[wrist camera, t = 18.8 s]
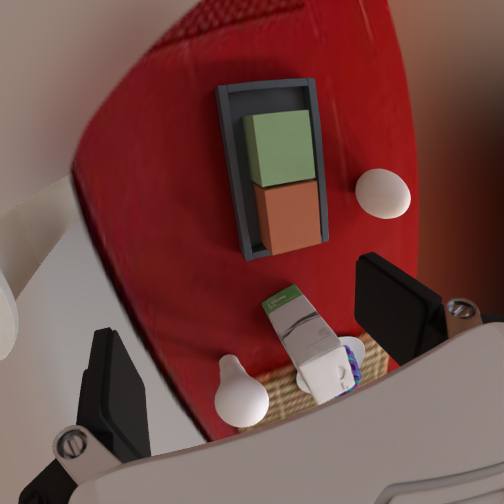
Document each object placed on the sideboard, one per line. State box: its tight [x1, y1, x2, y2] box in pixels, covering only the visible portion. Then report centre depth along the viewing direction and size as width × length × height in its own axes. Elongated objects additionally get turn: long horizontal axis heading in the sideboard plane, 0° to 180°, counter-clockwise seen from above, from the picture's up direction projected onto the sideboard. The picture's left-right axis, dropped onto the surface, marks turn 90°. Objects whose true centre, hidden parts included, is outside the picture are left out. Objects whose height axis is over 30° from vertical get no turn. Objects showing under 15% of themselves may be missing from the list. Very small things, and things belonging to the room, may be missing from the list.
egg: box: [355, 169, 411, 219], centre depth 32 cm, size 5×5×8 cm
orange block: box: [253, 179, 321, 255], centre depth 31 cm, size 5×6×4 cm
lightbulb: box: [215, 354, 269, 427], centre depth 35 cm, size 6×6×11 cm
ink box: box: [262, 284, 355, 405], centre depth 34 cm, size 9×5×12 cm, turn 23°
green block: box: [242, 110, 315, 187], centre depth 28 cm, size 5×6×4 cm
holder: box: [214, 78, 329, 261], centre depth 30 cm, size 10×18×2 cm, turn 8°
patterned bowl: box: [296, 337, 365, 398], centre depth 43 cm, size 12×12×5 cm
